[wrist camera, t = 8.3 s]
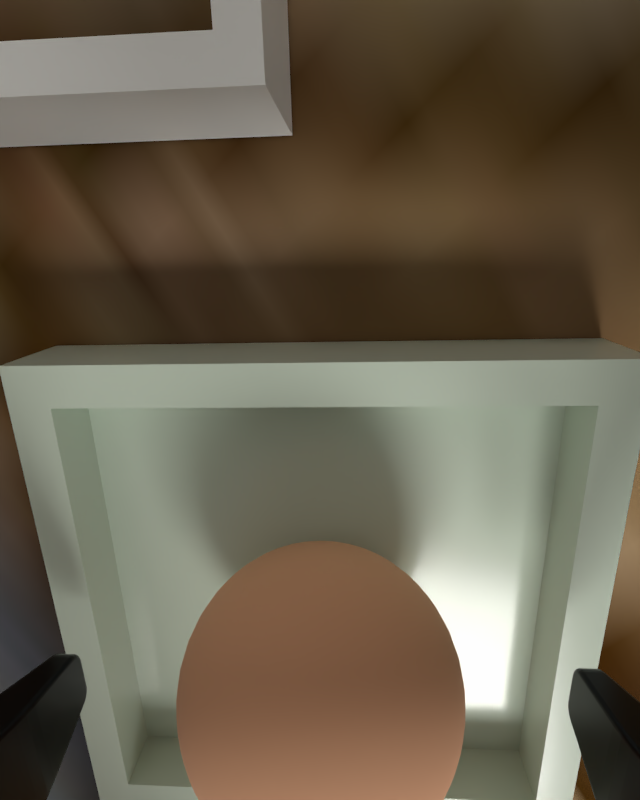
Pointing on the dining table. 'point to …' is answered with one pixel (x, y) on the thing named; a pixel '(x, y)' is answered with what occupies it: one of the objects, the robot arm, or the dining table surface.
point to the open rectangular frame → (152, 82)
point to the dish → (333, 517)
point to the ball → (320, 683)
